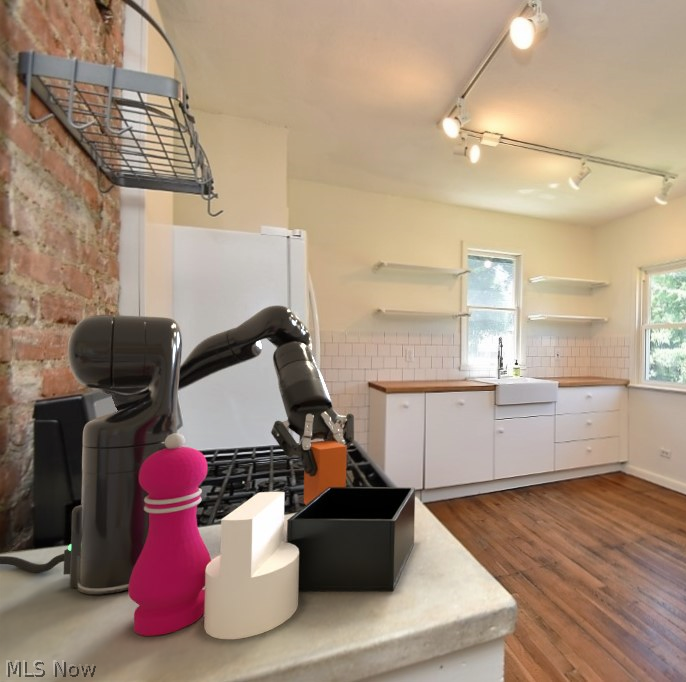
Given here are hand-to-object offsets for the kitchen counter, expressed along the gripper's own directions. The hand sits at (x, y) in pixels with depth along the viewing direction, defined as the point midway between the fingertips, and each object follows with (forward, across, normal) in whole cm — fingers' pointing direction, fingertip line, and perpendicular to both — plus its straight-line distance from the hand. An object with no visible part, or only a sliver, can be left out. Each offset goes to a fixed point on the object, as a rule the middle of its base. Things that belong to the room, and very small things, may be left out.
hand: (329, 470), depth 74 cm
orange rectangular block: (+3, 0, -6) cm, 6 cm away
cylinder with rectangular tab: (+19, +16, +6) cm, 25 cm away
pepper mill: (+16, +22, +2) cm, 27 cm away
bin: (+17, +2, +4) cm, 18 cm away
